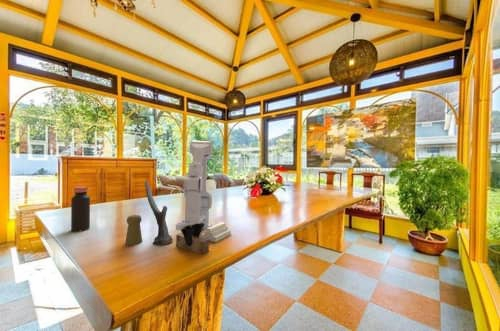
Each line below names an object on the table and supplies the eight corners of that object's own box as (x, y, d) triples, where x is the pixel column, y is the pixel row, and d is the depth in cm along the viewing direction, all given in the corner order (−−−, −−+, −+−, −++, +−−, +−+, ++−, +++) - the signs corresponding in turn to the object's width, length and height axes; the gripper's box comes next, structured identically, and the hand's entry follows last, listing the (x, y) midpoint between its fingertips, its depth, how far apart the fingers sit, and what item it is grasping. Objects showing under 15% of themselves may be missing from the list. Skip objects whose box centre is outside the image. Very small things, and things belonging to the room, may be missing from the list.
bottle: (67, 230, 95) (67, 187, 94) (84, 226, 101) (84, 185, 101) (76, 232, 92) (76, 188, 92) (93, 228, 98) (93, 186, 98)
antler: (175, 238, 88) (176, 180, 87) (168, 246, 80) (169, 182, 80) (147, 238, 88) (148, 180, 87) (138, 246, 80) (139, 182, 79)
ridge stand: (201, 238, 89) (201, 227, 89) (216, 231, 99) (217, 220, 99) (215, 242, 85) (216, 230, 85) (230, 234, 95) (230, 223, 95)
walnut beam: (176, 246, 81) (176, 234, 81) (182, 243, 84) (182, 232, 83) (203, 254, 74) (203, 242, 74) (208, 251, 77) (208, 239, 77)
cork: (124, 246, 79) (124, 218, 79) (125, 240, 85) (126, 214, 84) (142, 243, 82) (142, 216, 82) (142, 238, 87) (142, 213, 87)
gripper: (186, 213, 70) (185, 253, 71) (213, 206, 83) (212, 239, 83) (171, 211, 74) (171, 248, 74) (199, 204, 86) (199, 236, 87)
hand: (192, 243), depth 79 cm, fingers closed on walnut beam, 3 cm apart
